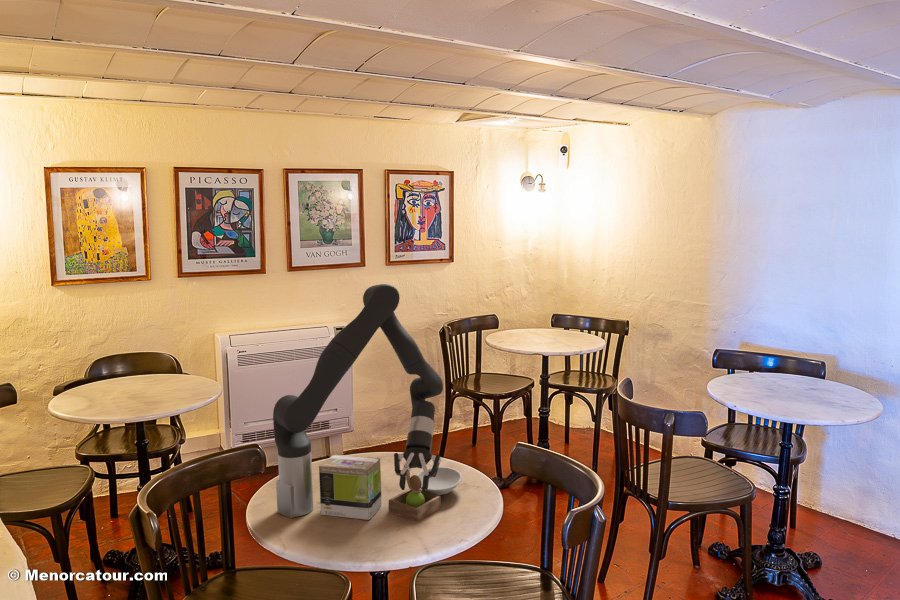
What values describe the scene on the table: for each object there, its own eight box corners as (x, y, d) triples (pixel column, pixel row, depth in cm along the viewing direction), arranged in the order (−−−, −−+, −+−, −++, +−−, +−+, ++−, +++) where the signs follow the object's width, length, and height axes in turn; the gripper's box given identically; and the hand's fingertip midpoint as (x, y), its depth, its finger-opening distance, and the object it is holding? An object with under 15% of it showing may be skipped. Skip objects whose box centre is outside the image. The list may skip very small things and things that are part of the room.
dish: (457, 507, 183) (457, 491, 182) (408, 504, 185) (408, 487, 185) (466, 483, 200) (466, 468, 199) (422, 480, 203) (421, 465, 202)
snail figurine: (413, 503, 186) (412, 463, 185) (428, 509, 182) (428, 469, 180) (399, 509, 182) (398, 469, 181) (415, 516, 178) (414, 475, 176)
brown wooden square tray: (417, 521, 174) (417, 509, 174) (388, 511, 181) (388, 499, 180) (440, 507, 183) (440, 496, 182) (412, 498, 189) (412, 487, 189)
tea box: (382, 506, 184) (381, 457, 183) (369, 521, 175) (367, 470, 173) (335, 500, 188) (333, 452, 187) (319, 515, 179) (317, 465, 177)
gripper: (394, 428, 188) (386, 483, 177) (442, 430, 186) (436, 485, 175) (398, 439, 193) (390, 493, 183) (445, 441, 191) (439, 495, 181)
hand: (413, 489), depth 179 cm, fingers open, 5 cm apart
